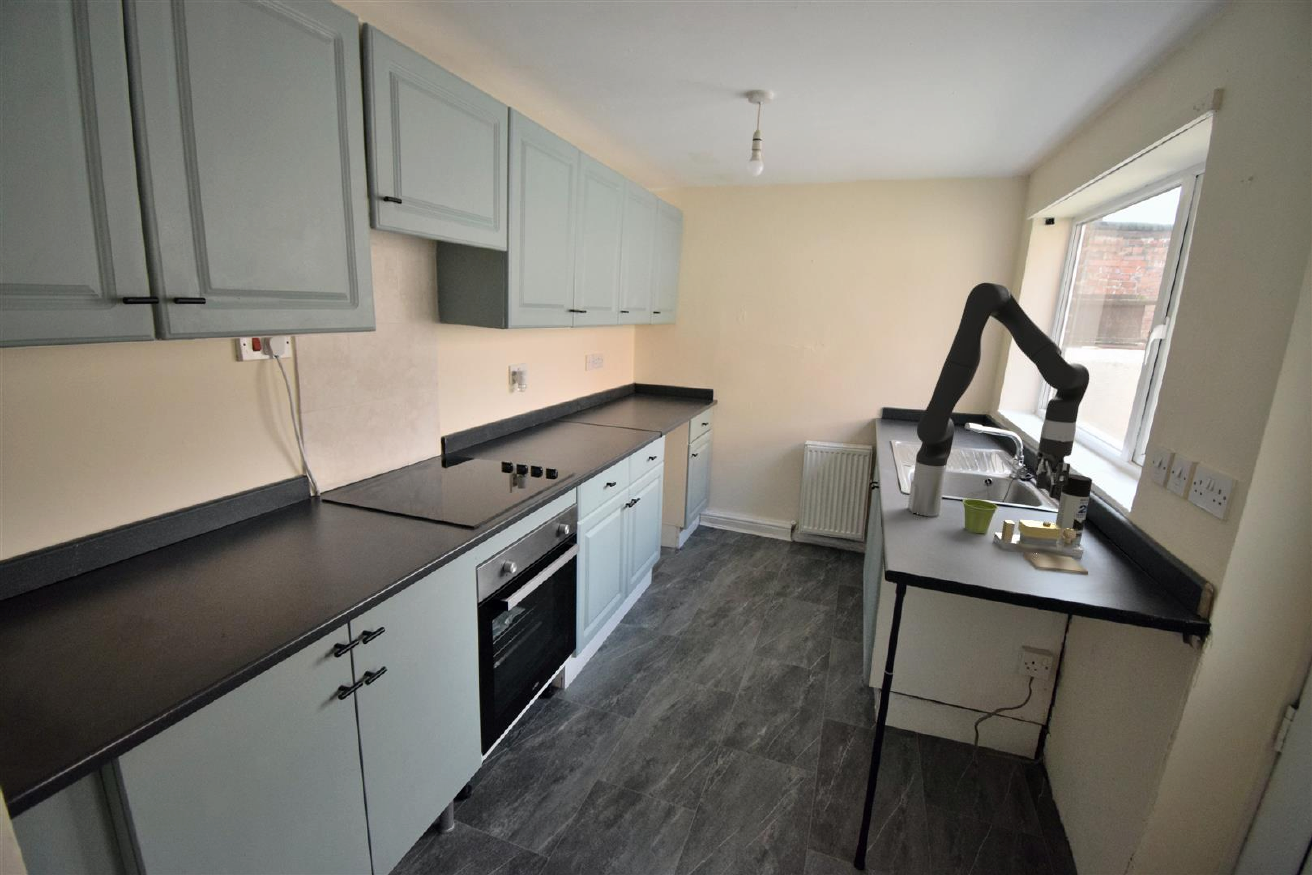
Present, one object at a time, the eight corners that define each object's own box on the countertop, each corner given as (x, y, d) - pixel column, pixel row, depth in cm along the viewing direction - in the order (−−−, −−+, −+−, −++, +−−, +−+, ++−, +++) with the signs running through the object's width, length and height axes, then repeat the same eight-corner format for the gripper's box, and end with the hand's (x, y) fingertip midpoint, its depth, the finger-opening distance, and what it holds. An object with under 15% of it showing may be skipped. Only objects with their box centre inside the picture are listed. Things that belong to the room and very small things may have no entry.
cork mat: (1036, 568, 148) (1037, 566, 148) (1022, 554, 157) (1023, 552, 156) (1087, 574, 146) (1088, 571, 145) (1070, 559, 154) (1071, 557, 154)
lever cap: (1024, 536, 158) (1027, 524, 157) (1017, 529, 163) (1019, 517, 162) (1060, 539, 156) (1063, 527, 156) (1052, 532, 161) (1054, 521, 160)
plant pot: (964, 522, 180) (968, 496, 178) (997, 530, 174) (1001, 504, 172) (954, 529, 174) (958, 503, 172) (987, 538, 167) (992, 511, 165)
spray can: (1072, 547, 163) (1085, 481, 158) (1047, 538, 168) (1059, 475, 164) (1084, 543, 166) (1098, 478, 161) (1059, 535, 171) (1072, 472, 167)
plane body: (1002, 550, 159) (1006, 525, 158) (993, 540, 166) (997, 516, 164) (1081, 558, 155) (1086, 532, 154) (1069, 547, 162) (1074, 523, 160)
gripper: (1030, 430, 161) (1021, 484, 165) (1053, 441, 147) (1043, 500, 151) (1060, 432, 159) (1050, 486, 163) (1086, 443, 146) (1074, 502, 149)
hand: (1046, 493), depth 157 cm, fingers open, 8 cm apart
